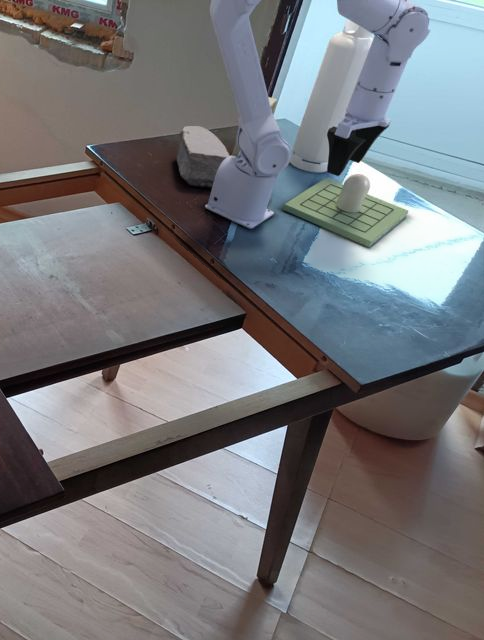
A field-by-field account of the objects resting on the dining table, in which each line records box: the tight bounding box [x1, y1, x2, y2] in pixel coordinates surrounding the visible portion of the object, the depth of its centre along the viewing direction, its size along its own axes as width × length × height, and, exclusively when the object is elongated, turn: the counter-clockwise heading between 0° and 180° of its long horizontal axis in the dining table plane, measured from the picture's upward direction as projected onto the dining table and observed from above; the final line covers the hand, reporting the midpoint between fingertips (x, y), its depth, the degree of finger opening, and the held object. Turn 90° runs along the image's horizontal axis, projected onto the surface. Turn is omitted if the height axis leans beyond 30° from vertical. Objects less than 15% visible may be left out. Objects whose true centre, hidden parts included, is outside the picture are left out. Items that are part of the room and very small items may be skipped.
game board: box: [282, 177, 409, 248], centre depth 122 cm, size 16×16×1 cm
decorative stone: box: [176, 125, 231, 189], centre depth 129 cm, size 15×7×10 cm
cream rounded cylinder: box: [336, 173, 371, 213], centre depth 120 cm, size 4×4×6 cm
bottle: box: [289, 18, 374, 173], centre depth 128 cm, size 8×8×28 cm
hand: (343, 166), depth 115 cm, fingers open, 7 cm apart
